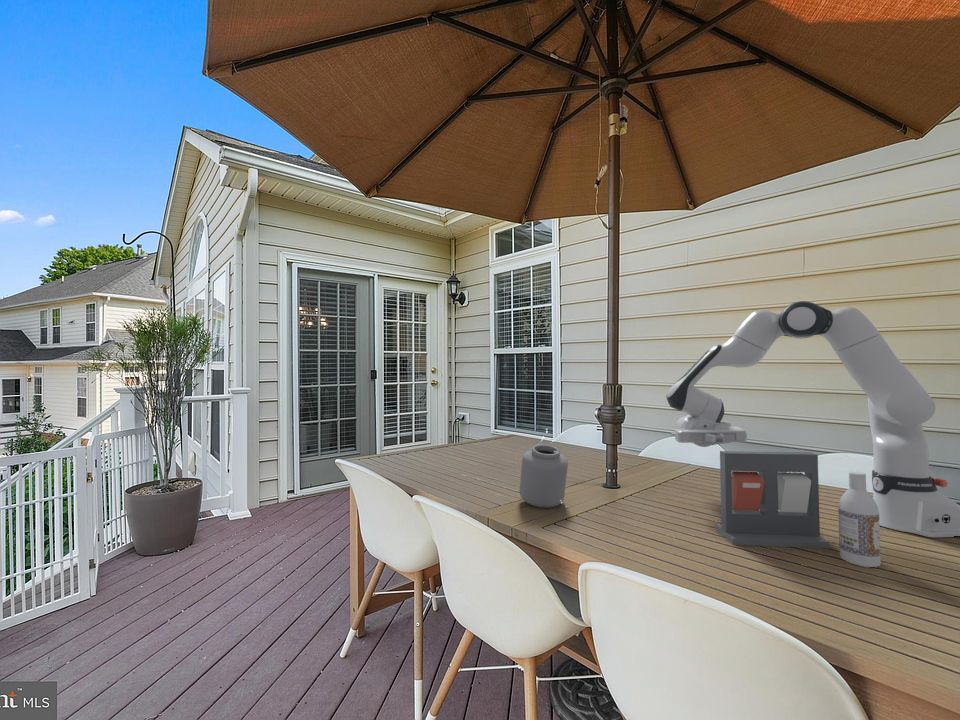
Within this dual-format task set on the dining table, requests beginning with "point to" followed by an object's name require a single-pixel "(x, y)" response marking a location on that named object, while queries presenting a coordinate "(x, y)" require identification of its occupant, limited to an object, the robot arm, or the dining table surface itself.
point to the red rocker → (746, 491)
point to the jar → (543, 476)
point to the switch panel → (770, 502)
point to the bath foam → (859, 524)
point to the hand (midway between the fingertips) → (719, 439)
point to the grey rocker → (793, 492)
